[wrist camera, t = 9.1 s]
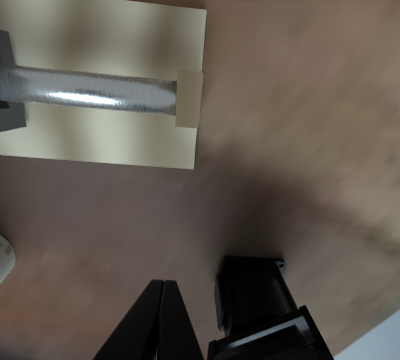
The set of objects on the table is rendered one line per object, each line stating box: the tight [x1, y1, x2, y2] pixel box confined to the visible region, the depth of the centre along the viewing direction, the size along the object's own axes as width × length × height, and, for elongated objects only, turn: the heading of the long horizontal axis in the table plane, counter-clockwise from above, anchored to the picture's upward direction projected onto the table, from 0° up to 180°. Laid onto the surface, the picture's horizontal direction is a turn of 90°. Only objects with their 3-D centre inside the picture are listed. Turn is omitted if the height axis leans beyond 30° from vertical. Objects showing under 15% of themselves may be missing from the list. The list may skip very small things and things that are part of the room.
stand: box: [0, 0, 207, 169], centre depth 15 cm, size 18×11×5 cm, turn 85°
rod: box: [0, 64, 177, 116], centre depth 13 cm, size 18×2×2 cm, turn 85°
